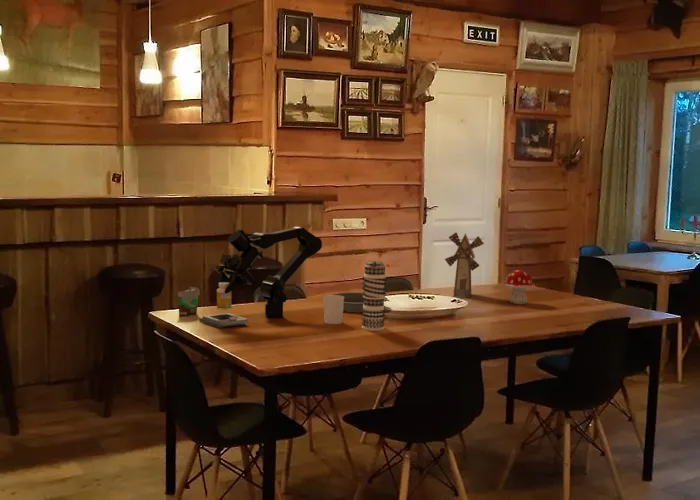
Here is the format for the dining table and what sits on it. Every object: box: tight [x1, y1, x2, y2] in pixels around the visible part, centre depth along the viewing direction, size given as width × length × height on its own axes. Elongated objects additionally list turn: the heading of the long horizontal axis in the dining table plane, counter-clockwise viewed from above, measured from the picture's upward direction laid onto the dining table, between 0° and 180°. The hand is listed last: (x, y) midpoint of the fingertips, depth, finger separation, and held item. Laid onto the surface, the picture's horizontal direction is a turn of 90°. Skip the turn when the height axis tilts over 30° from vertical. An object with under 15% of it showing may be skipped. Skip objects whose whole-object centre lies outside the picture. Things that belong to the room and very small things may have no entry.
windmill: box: [444, 232, 485, 299], centre depth 383 cm, size 18×13×30 cm
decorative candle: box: [361, 260, 388, 331], centre depth 307 cm, size 9×9×25 cm
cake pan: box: [331, 292, 387, 313], centre depth 349 cm, size 25×25×4 cm
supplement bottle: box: [216, 282, 232, 311], centre depth 308 cm, size 5×5×10 cm
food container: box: [177, 286, 201, 317], centre depth 323 cm, size 12×6×10 cm, turn 168°
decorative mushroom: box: [502, 269, 535, 305], centre depth 369 cm, size 14×14×15 cm
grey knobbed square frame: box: [198, 312, 249, 329], centre depth 309 cm, size 16×11×3 cm
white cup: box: [323, 294, 344, 325], centre depth 316 cm, size 8×8×10 cm
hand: (220, 291), depth 307 cm, fingers closed on supplement bottle, 5 cm apart
